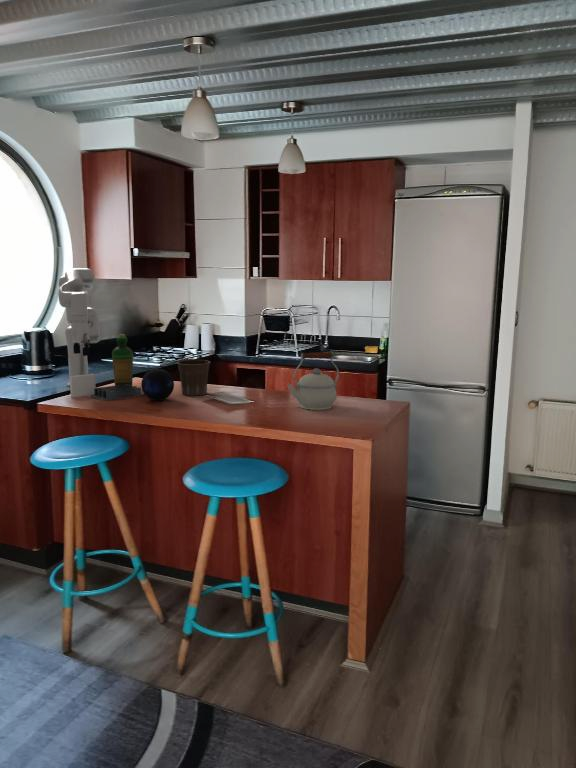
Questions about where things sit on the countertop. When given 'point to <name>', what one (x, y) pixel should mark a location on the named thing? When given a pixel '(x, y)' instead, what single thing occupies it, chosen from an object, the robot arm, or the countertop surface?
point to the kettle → (315, 386)
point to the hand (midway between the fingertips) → (81, 354)
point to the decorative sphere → (157, 384)
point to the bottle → (122, 362)
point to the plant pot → (193, 376)
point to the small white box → (82, 385)
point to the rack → (116, 392)
